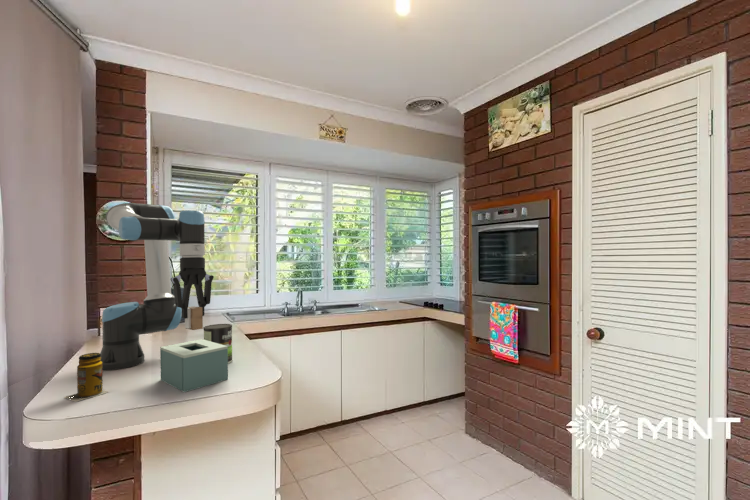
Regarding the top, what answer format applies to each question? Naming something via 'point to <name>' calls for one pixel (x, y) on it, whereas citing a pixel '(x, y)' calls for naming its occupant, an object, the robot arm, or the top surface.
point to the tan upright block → (196, 318)
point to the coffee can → (220, 336)
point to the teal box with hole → (194, 364)
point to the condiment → (88, 377)
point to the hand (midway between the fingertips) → (193, 326)
